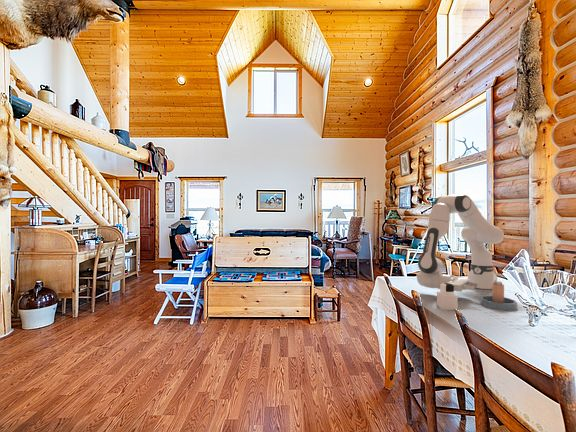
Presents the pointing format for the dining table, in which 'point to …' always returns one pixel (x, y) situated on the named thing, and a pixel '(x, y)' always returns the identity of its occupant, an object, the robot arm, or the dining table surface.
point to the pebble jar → (498, 292)
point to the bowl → (507, 304)
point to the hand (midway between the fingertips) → (475, 286)
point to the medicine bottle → (447, 297)
